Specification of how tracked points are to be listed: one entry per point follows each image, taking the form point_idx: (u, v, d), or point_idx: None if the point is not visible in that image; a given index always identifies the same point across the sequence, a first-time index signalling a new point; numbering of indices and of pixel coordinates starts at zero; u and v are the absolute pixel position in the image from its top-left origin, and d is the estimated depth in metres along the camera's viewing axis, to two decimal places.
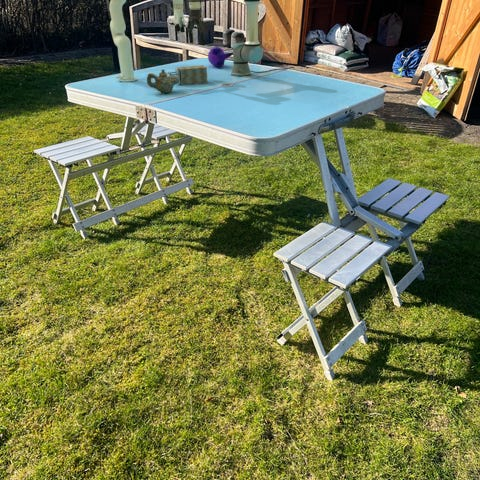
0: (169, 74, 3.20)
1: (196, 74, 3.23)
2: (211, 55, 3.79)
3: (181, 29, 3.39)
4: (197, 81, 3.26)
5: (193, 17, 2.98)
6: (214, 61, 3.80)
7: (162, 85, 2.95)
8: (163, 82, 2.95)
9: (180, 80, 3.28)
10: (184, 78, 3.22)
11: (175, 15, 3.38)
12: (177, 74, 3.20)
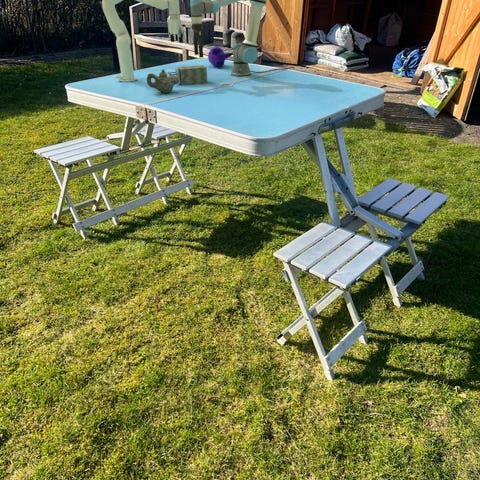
0: (169, 74, 3.20)
1: (196, 74, 3.23)
2: (211, 55, 3.79)
3: (180, 39, 3.29)
4: (197, 81, 3.26)
5: None
6: (214, 61, 3.80)
7: (162, 85, 2.95)
8: (163, 82, 2.95)
9: (180, 80, 3.28)
10: (184, 78, 3.22)
11: (172, 25, 3.26)
12: (177, 74, 3.20)
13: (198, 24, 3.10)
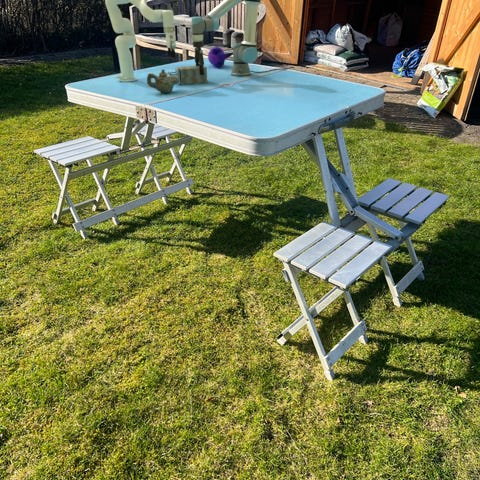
0: (169, 74, 3.20)
1: (196, 74, 3.23)
2: (211, 55, 3.79)
3: None
4: (197, 81, 3.26)
5: None
6: (214, 61, 3.80)
7: (162, 85, 2.95)
8: (163, 82, 2.95)
9: (180, 80, 3.28)
10: (184, 78, 3.22)
11: None
12: (177, 74, 3.20)
13: (199, 42, 3.15)
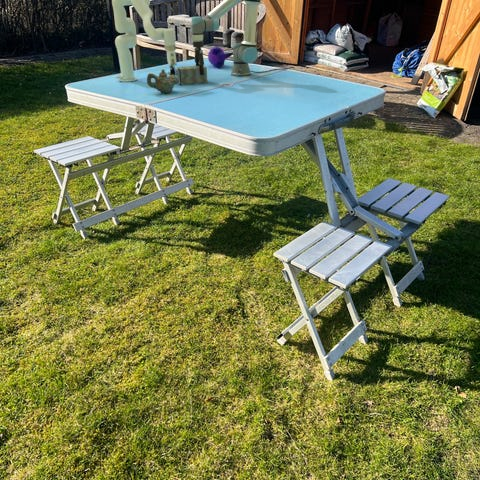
0: (169, 74, 3.20)
1: (196, 74, 3.23)
2: (211, 55, 3.79)
3: None
4: (197, 81, 3.26)
5: None
6: (214, 61, 3.80)
7: (162, 85, 2.95)
8: (163, 82, 2.95)
9: (180, 80, 3.28)
10: (184, 78, 3.22)
11: None
12: (177, 74, 3.20)
13: (199, 42, 3.15)
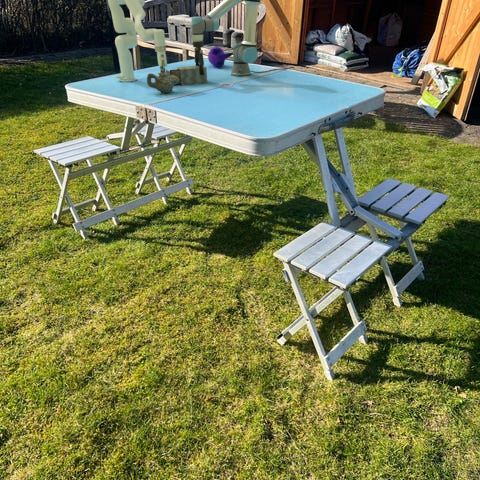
0: None
1: (196, 74, 3.23)
2: (211, 55, 3.79)
3: None
4: (197, 81, 3.26)
5: None
6: (214, 61, 3.80)
7: (162, 85, 2.95)
8: (163, 82, 2.95)
9: None
10: (184, 78, 3.22)
11: None
12: (167, 75, 3.18)
13: (199, 42, 3.15)
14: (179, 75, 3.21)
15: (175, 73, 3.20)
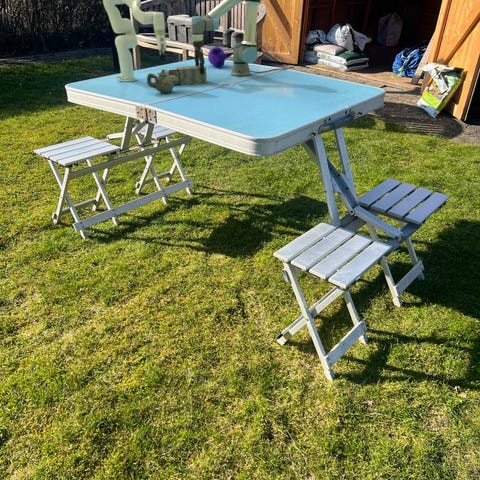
0: None
1: (195, 74, 3.23)
2: (211, 55, 3.79)
3: None
4: (196, 81, 3.26)
5: None
6: (214, 61, 3.80)
7: (162, 85, 2.95)
8: (163, 82, 2.95)
9: None
10: (183, 78, 3.22)
11: None
12: None
13: (199, 42, 3.15)
14: (178, 75, 3.21)
15: (175, 73, 3.20)
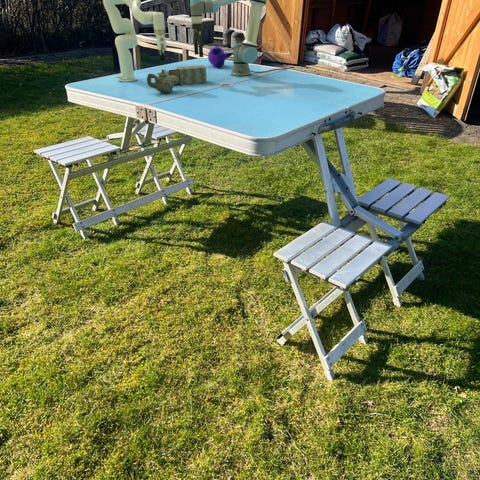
0: None
1: (195, 74, 3.23)
2: (211, 55, 3.79)
3: None
4: (196, 81, 3.26)
5: None
6: (214, 61, 3.80)
7: (162, 85, 2.95)
8: (163, 82, 2.95)
9: None
10: (183, 78, 3.22)
11: None
12: None
13: (198, 24, 3.09)
14: (178, 75, 3.21)
15: (175, 73, 3.20)
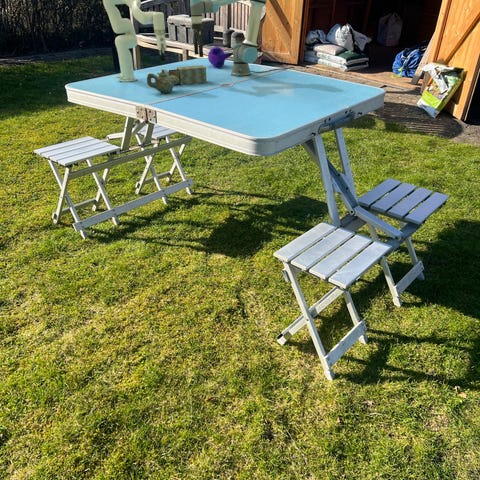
0: None
1: (195, 74, 3.23)
2: (211, 55, 3.79)
3: None
4: (196, 81, 3.26)
5: None
6: (214, 61, 3.80)
7: (162, 85, 2.95)
8: (163, 82, 2.95)
9: None
10: (183, 78, 3.22)
11: None
12: None
13: (198, 24, 3.09)
14: (178, 75, 3.21)
15: (175, 73, 3.20)
